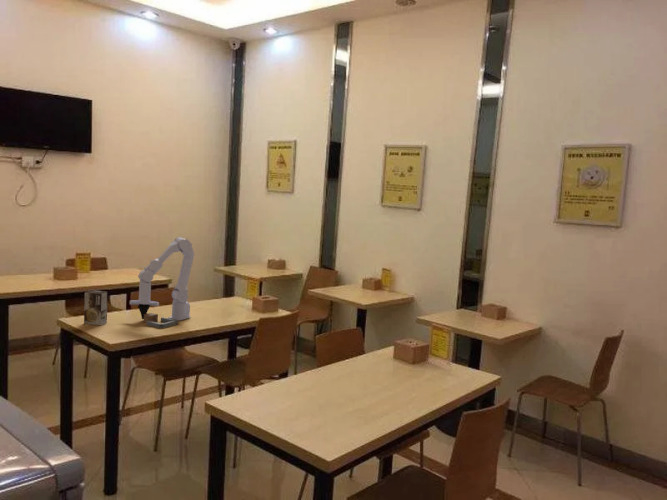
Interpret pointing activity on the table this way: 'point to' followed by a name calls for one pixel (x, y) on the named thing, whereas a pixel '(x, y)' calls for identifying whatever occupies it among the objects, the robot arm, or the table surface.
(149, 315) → the walnut block
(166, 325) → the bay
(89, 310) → the coffee box
